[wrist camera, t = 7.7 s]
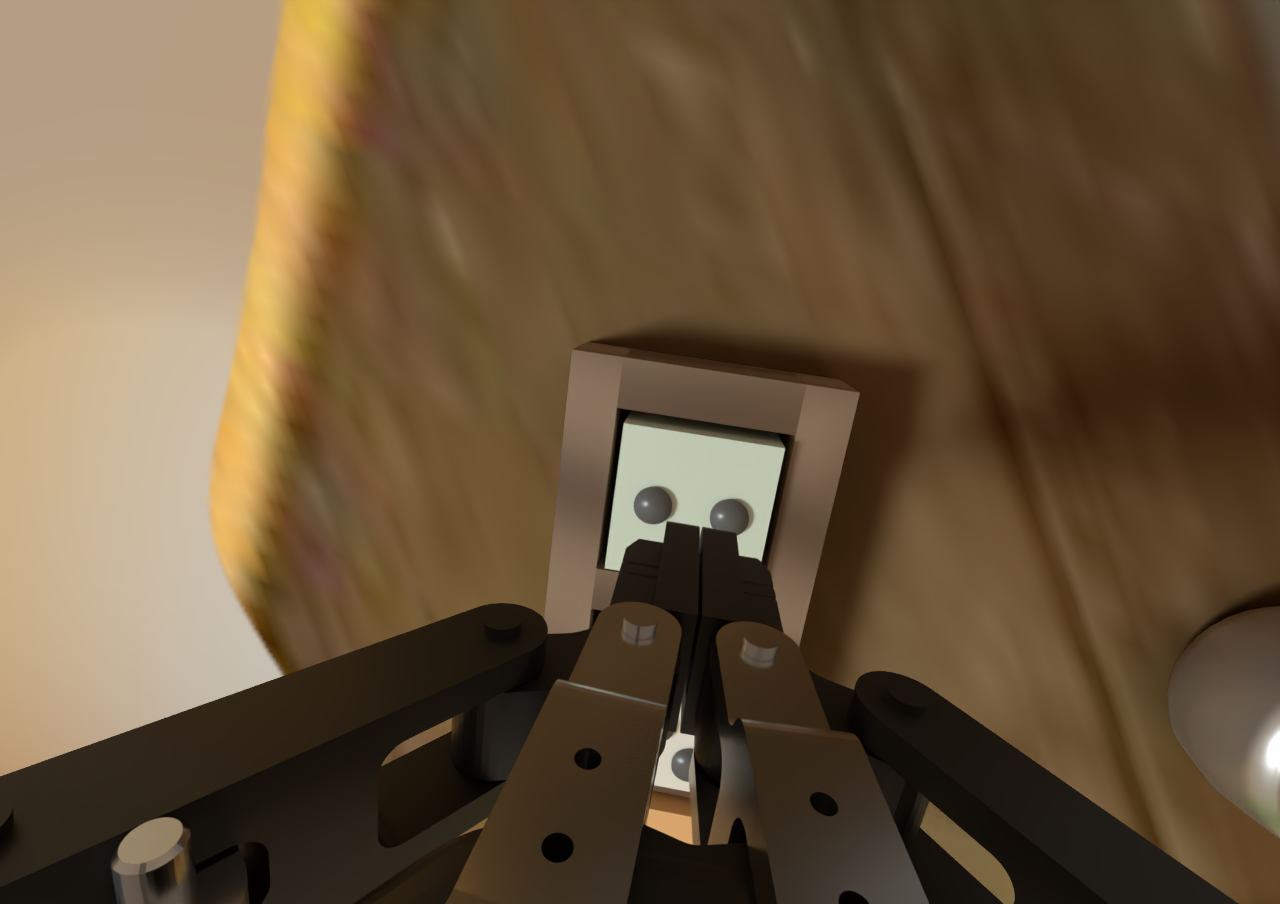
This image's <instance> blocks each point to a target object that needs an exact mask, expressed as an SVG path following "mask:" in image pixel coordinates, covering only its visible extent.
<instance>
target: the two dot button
mask: <svg viewBox="0 0 1280 904" xmlns="http://www.w3.org/2000/svg"><path fill="white" fill-rule="evenodd" d="M784 452H785V447H784V445H783V443H782V441H781V439H780V437H779V435H778V434H777V433H776V432H770V431H763V430H757V429H750V428H744V427H738V426H731V425H725V424H718V423H712V422H705V421H699V420H692V419H686V418H679V417H673V416H666V415H660V414H653V413H647V412H641V411H634V410H631V411H630V413H629V415H628V417H627V418H626V420H625V422H624V425H623V433H622V440H621V448H620V456H619V463H618V471H617V478H616V486H615V493H614V501H613V508H612V516H611V524H610V531H609V539H608V546H607V554H606V561H605V568H606V569H612V570H618V571H620V568H621V564H622V561H623V557H624V553H625V550H626V547H628V546H629V545H631V544H632V543H633V542H635V541H636V540H638V539H644V540H650V541H656V542H662V543H663V541H664V535H665V528H666V522H667V521H671V522H677V523H683V524H689V525H695V526H700V534H701V530H702V527H708V528H714V529H720V530H726V531H732V532H736V534H737V542H738V550H739V556H745V557H751V558H757V559H759V560H760V561H762V556H763V551H764V546H765V542H766V537H767V532H768V527H769V523H770V518H771V513H772V508H773V504H774V499H775V494H776V489H777V485H778V480H779V475H780V471H781V466H782V461H783V456H784Z"/></svg>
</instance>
